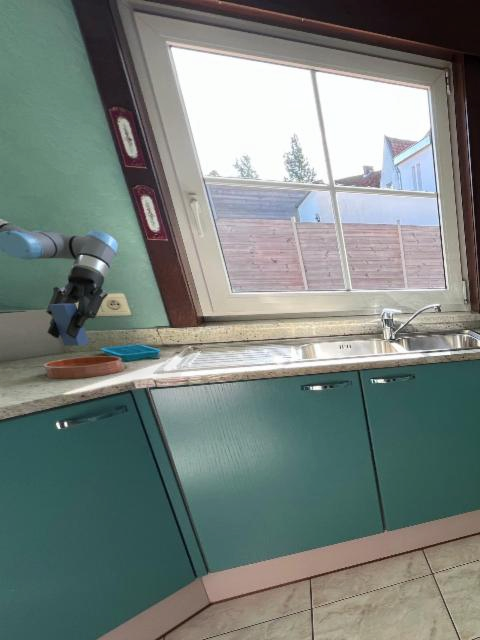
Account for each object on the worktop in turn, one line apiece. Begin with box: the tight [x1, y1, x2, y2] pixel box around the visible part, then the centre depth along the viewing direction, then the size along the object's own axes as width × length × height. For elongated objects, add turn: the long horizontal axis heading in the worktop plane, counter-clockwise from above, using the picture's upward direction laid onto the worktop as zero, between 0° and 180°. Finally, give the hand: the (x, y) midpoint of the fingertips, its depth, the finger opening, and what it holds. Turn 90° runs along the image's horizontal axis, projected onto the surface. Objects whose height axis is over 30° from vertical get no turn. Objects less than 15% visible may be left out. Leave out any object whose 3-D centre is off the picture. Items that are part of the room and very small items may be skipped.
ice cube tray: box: [99, 344, 162, 362], centre depth 177 cm, size 12×20×3 cm, turn 59°
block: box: [48, 303, 90, 347], centre depth 149 cm, size 4×4×12 cm
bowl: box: [42, 355, 126, 380], centre depth 153 cm, size 17×17×4 cm
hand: (61, 335), depth 146 cm, fingers closed on block, 4 cm apart
